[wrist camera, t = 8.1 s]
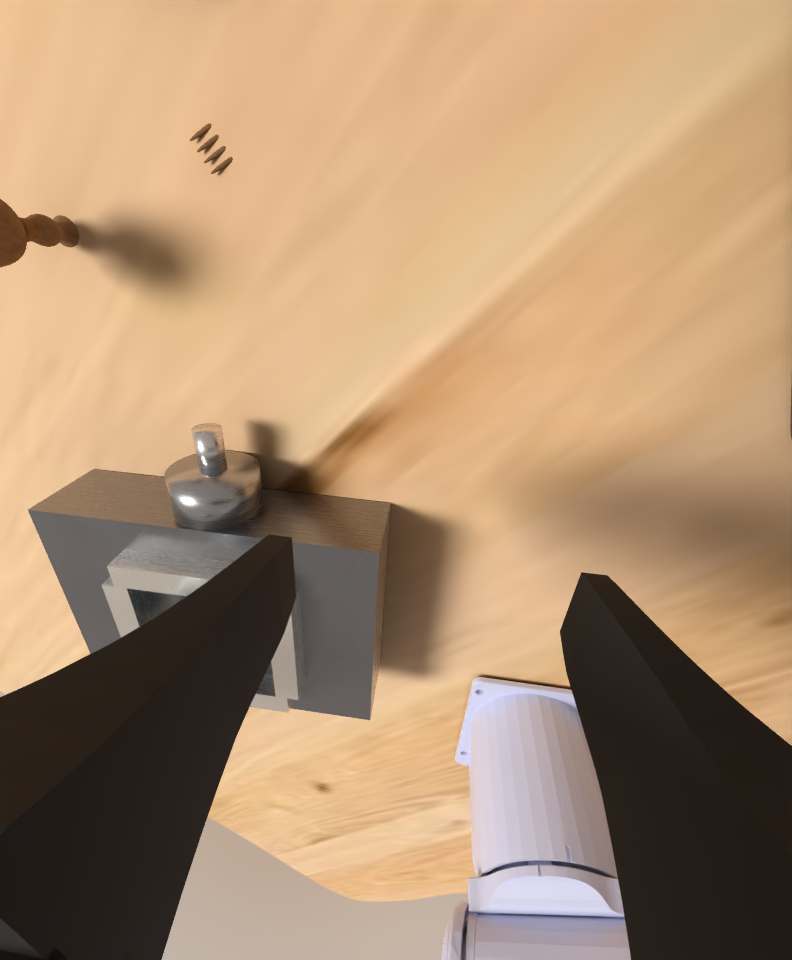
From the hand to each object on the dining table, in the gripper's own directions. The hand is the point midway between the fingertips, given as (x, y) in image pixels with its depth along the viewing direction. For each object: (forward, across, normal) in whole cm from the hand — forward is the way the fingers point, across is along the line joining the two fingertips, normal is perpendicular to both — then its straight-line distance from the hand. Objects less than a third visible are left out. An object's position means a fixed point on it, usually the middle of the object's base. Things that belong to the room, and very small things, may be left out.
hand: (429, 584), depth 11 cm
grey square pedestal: (+10, +10, +8) cm, 16 cm away
